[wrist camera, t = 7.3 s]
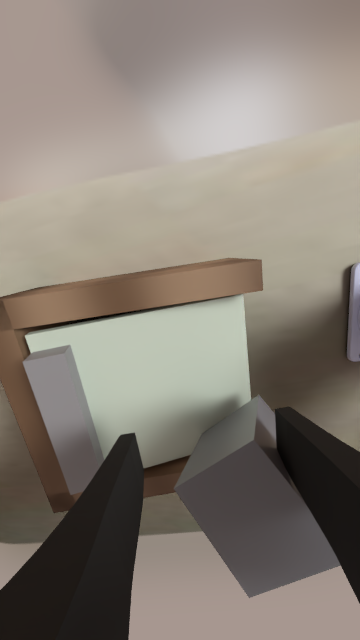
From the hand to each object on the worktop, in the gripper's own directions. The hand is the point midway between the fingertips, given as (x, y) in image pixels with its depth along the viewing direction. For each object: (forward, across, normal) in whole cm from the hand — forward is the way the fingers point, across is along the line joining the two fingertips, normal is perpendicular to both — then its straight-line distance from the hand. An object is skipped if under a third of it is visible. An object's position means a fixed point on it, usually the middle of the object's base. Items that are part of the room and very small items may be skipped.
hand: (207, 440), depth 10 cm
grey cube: (+3, -3, +4) cm, 6 cm away
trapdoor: (+5, +2, 0) cm, 6 cm away
